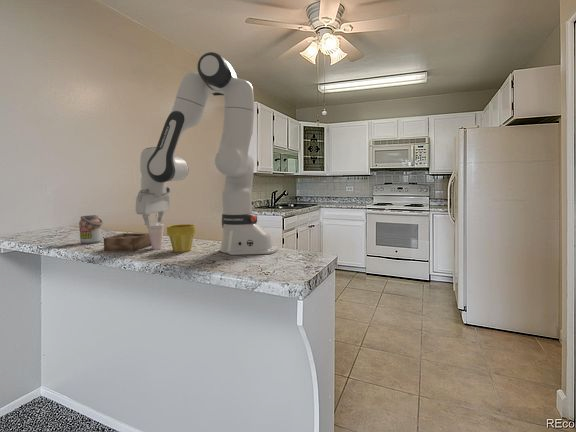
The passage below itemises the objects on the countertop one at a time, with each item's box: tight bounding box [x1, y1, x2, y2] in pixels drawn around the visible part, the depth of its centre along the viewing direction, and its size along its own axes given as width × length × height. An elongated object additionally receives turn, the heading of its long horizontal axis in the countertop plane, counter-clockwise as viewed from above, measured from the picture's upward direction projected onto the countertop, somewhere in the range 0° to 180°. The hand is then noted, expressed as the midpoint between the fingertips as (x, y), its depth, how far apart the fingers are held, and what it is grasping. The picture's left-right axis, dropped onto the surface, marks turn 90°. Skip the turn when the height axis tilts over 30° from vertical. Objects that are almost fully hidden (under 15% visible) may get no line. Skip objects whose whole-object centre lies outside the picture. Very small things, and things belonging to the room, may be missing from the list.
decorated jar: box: [78, 214, 104, 245], centre depth 145 cm, size 9×8×12 cm
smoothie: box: [146, 213, 165, 250], centre depth 131 cm, size 6×6×14 cm
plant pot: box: [166, 223, 196, 253], centre depth 127 cm, size 10×10×10 cm
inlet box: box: [102, 232, 152, 252], centre depth 133 cm, size 13×13×5 cm
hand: (154, 223), depth 131 cm, fingers open, 8 cm apart
